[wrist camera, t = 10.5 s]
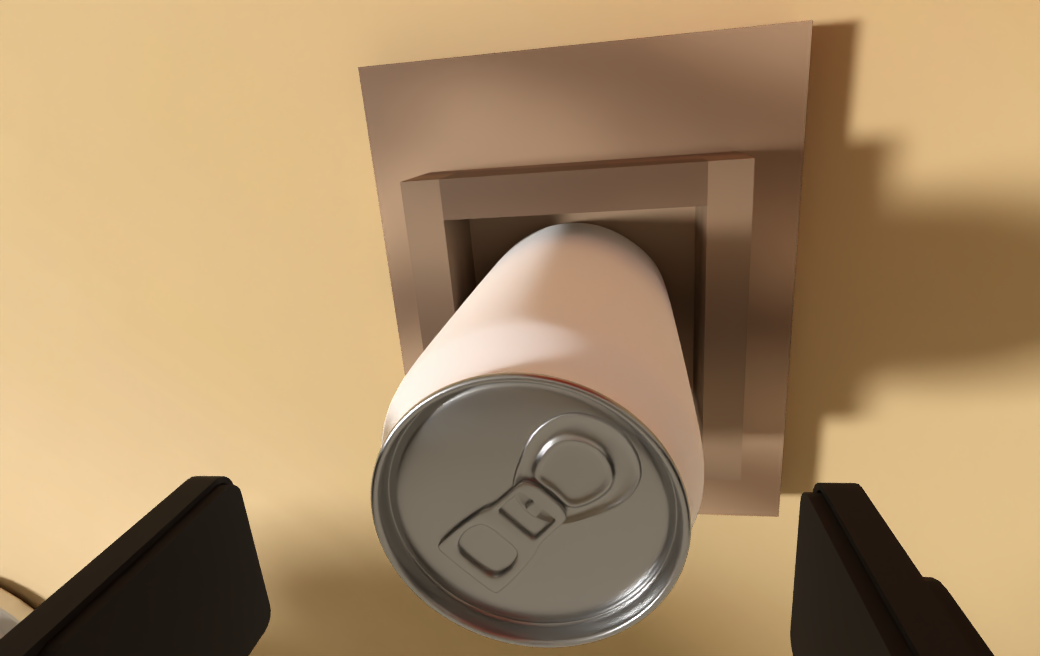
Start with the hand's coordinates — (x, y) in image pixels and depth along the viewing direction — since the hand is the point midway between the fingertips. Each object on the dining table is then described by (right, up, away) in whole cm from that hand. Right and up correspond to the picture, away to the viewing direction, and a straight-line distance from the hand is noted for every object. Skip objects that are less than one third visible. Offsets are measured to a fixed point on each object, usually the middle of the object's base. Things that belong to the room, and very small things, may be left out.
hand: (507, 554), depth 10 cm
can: (+2, +4, +12) cm, 13 cm away
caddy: (+3, +5, +13) cm, 14 cm away
